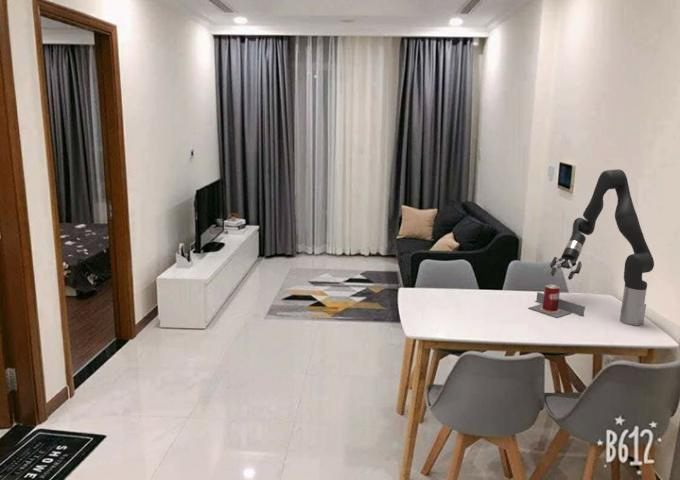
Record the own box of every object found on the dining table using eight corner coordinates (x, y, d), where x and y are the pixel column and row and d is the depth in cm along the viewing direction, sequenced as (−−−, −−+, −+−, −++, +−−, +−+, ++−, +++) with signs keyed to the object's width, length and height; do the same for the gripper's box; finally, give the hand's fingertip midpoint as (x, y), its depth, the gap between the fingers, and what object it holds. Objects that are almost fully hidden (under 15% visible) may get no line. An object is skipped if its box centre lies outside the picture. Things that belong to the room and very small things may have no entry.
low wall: (583, 315, 270) (584, 306, 269) (582, 316, 269) (583, 306, 268) (537, 301, 290) (538, 292, 289) (536, 301, 290) (537, 292, 289)
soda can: (538, 308, 277) (541, 285, 274) (549, 306, 280) (552, 283, 277) (550, 312, 271) (552, 289, 268) (560, 311, 274) (563, 287, 271)
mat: (571, 313, 272) (571, 312, 272) (556, 318, 265) (557, 316, 265) (542, 304, 285) (543, 303, 285) (528, 308, 278) (528, 307, 278)
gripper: (557, 244, 286) (545, 270, 280) (585, 249, 276) (573, 275, 271) (560, 253, 291) (548, 278, 285) (587, 258, 281) (576, 284, 276)
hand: (560, 277), depth 278 cm, fingers open, 8 cm apart
